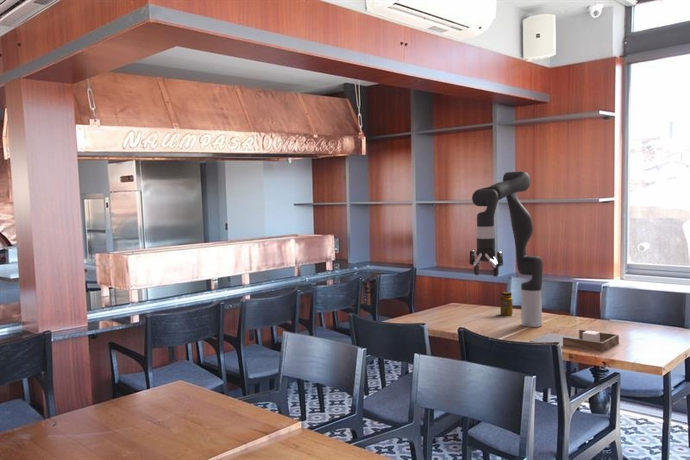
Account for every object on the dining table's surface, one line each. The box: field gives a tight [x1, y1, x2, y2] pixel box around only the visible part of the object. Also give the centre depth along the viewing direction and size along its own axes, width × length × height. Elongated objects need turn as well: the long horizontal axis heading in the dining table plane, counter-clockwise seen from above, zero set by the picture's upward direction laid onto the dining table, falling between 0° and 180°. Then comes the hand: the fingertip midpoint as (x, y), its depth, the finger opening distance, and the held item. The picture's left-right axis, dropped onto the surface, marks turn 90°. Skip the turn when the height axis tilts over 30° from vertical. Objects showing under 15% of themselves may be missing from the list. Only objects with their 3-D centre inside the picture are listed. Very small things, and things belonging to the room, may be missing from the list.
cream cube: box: [583, 330, 601, 342], centre depth 238 cm, size 5×5×5 cm
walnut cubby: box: [562, 329, 620, 353], centre depth 238 cm, size 18×16×4 cm
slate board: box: [529, 332, 619, 353], centre depth 243 cm, size 18×30×1 cm, turn 47°
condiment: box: [494, 291, 515, 318], centre depth 305 cm, size 7×8×12 cm
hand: (486, 275), depth 246 cm, fingers open, 8 cm apart
